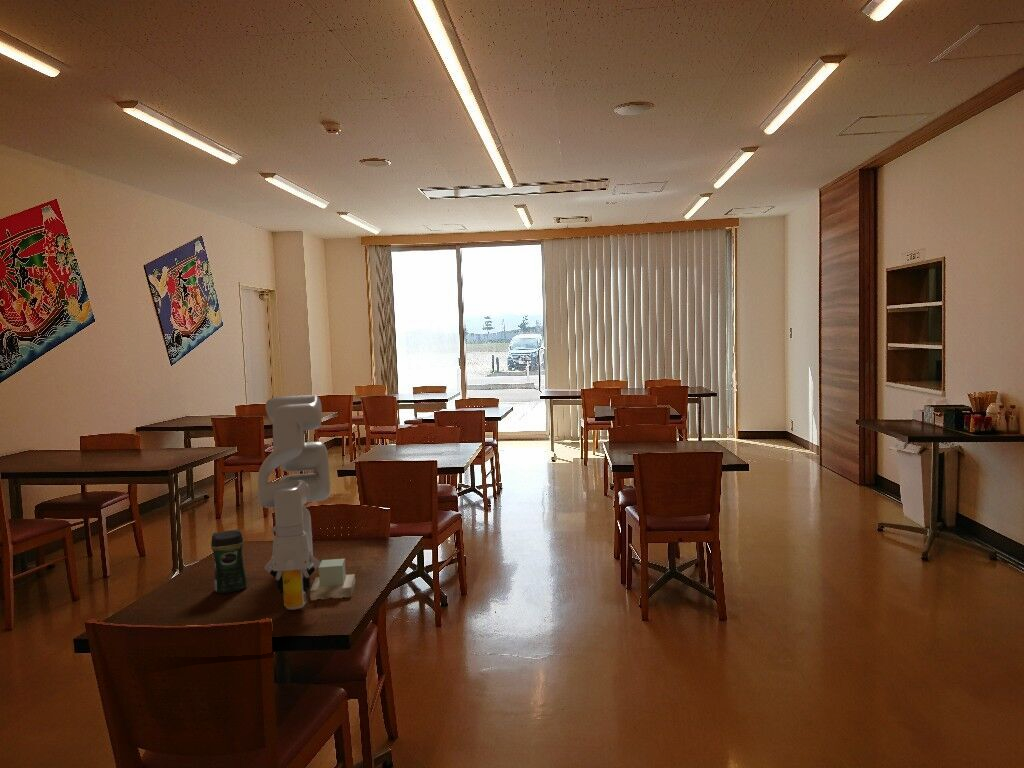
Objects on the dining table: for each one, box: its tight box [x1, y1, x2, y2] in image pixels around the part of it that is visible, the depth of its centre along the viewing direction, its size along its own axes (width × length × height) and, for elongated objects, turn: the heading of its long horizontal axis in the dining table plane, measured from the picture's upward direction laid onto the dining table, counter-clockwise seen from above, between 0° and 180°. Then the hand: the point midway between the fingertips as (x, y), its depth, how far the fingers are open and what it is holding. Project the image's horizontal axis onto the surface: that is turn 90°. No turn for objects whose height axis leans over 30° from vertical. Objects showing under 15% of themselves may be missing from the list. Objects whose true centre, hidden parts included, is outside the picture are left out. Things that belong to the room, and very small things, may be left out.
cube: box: [318, 558, 347, 587], centre depth 226 cm, size 7×7×6 cm
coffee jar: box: [210, 529, 248, 594], centre depth 232 cm, size 10×8×19 cm
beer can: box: [282, 560, 307, 610], centre depth 211 cm, size 6×6×15 cm
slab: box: [309, 573, 356, 601], centre depth 226 cm, size 12×12×3 cm
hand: (294, 590), depth 211 cm, fingers closed on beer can, 6 cm apart
